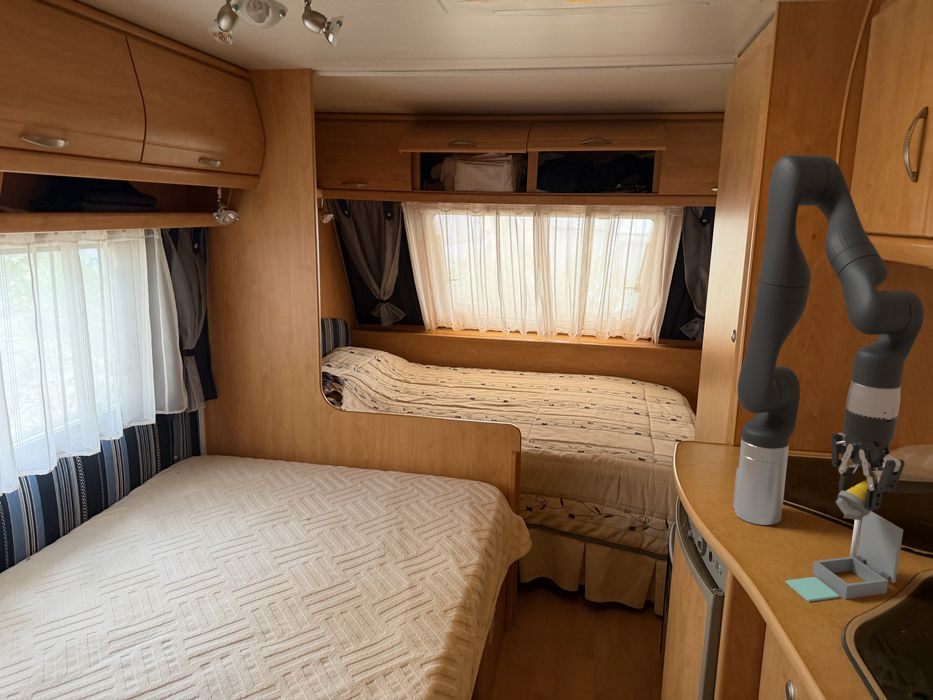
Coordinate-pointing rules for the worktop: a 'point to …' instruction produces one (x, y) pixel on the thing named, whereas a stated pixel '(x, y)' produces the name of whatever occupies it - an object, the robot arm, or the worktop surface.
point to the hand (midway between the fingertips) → (858, 501)
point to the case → (865, 559)
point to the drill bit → (854, 501)
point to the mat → (812, 589)
